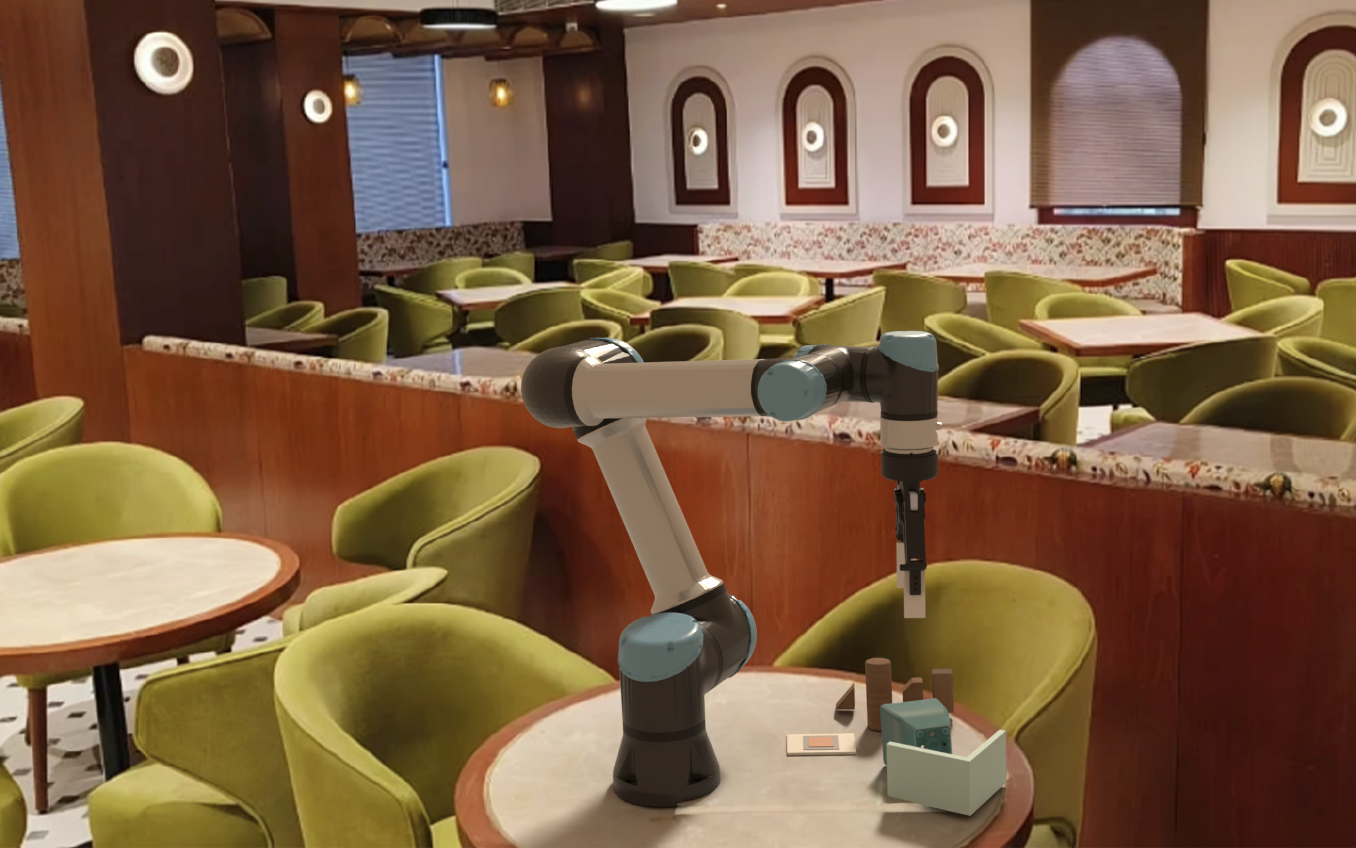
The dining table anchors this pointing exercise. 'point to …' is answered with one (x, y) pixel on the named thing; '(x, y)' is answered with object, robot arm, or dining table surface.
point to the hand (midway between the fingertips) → (910, 602)
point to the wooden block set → (882, 690)
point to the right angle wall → (947, 775)
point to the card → (821, 744)
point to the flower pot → (916, 725)
